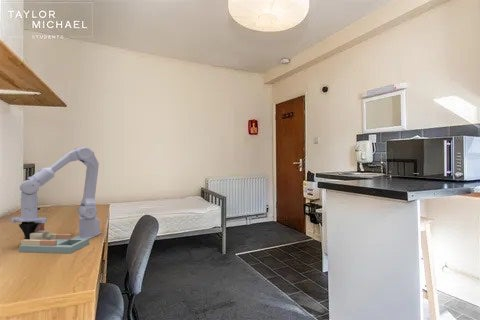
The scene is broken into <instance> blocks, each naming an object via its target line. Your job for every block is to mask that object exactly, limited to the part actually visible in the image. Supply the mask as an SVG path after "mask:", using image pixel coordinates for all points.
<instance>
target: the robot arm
mask: <svg viewBox="0 0 480 320" xmlns="http://www.w3.org/2000/svg"><path fill="white" fill-rule="evenodd" d="M76 161H79V162H81V163H82V164H83V165H85V166H86V171H85V177H84V178H85V179H84V187H83V196H82V199H81V201H80V205H79V207H78V209H77V213H78V214H79V218H78V235H76V236H74V238H89V240H90V239H92V238H95V237H96V236H99V235H101V234H102V232H101V230H100V229H101V228H100V227H101V221H100V219H99V217H97V214H98V209H97V201H96V190H97V181H98V174H99V173H98V172H99V168H100V167H99V165H100V163H99V161H98V159H97V157H96V156H95V152H94V151H93V150H92V149H91V148H90V147H88V146H79V147H78V146H77V147H75V148H74V149H72V150H70V151H69V152H67V153H66V154H65V155H63V156H62V157H60V159H58V160H57V161H55V162H54V163H52V165H50V166H49V167H43V168H39V169H37V172H36V173H34V174H33V175H32V176H28V177H27V180H24V181H22V182H21V184H20V185H19V190H20V216H16V217H11V223H12V224H13V223H20V224H18V227H19V228H20V229H21V231H22V232H23V235H24V237H25V238H26V239H28V240H30V234H31V233H34V232H35V230H36V228H37V226H38V225H39V223H44V224H46V223H47V222H48V218H47V217H43V216H38V215H39V214H38V212H39V211H38V204H39V203H38V192H39V189H40V188H41V187H42V186H44V185H45V184H47V183H48V182H49V181H50V180H52V179H53V178H54V177H55V173H56V172H58V171H59V170H61V169H62V168H64V167H65V166H66V165H68V164H69V163H71V162H76Z"/></svg>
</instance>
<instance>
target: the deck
mask: <svg viewBox="0 0 480 320" xmlns="http://www.w3.org/2000/svg"><path fill="white" fill-rule="evenodd" d="M20 241H21V242H20V243H21V244H20V245H18V252H19V253H36V254H37V253H39V254H41V253H43V254H46V253H47V254H73V253H75V252H77V251H78V250H80V249H82V248H84V247H86V246H88V245H90V239H89V238H75V237H72V234H71V233H50V240H28V239H24V238H23V239H21V240H20Z"/></svg>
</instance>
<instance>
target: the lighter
mask: <svg viewBox="0 0 480 320" xmlns="http://www.w3.org/2000/svg"><path fill="white" fill-rule="evenodd" d="M37 231H45V223H39V225H38V226H37V228H36V230H35V232H37ZM23 239H26V238H25V236H24V237H23Z"/></svg>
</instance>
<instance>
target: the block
mask: <svg viewBox="0 0 480 320" xmlns="http://www.w3.org/2000/svg"><path fill="white" fill-rule="evenodd" d="M50 234H51V230H44V231H37V232H34V233H31V234H30V240H50Z"/></svg>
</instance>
